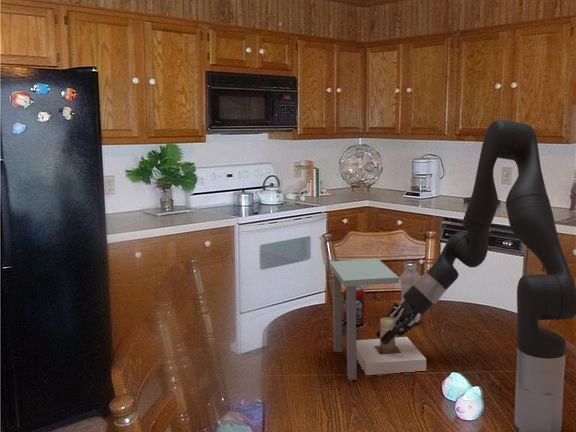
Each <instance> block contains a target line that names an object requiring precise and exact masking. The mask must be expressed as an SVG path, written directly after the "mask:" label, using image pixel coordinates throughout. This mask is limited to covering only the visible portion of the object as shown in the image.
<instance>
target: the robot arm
mask: <svg viewBox="0 0 576 432" xmlns="http://www.w3.org/2000/svg"><path fill="white" fill-rule="evenodd" d="M537 138H538V137H537V134H536V131H535V130H534V128H533V127H532V126H531V125H530V124H527V123H523V122H517V121H513V120H512V121H511V120H507V119H506V120H505V119H495V120H493V121H492V122H491V123H490V124H489V126H488V127H487V129H486V131H485V133H484V137H483V141H482V145H481V149H480V154H479V158H478V159H479V160H478V165H477V169H476V174H475V175H476V176H475V180H474V185H473V189H472V192H471V193H472V194H471V197H470V200H469V202H468V206H467V207H466V211H465V214H464V216H463V219H462V226H463V227H464V229H465V230H466V231H458V232H456V233H454V234H453V235H451V236H450V237H449V238H448V240H447V241H446V243H445V245H444V247H443V248H442V250H441V252H440V254H439V256H438V258H437V260H436V262H435V263H434V264H432V266H430V267H429V268H428V269H427V271H426V272H425V273H424V274H423V275H420V278H419V279H418V280H417V281H416V282H415V283H414V284H413V285H412V286H411V287H410V288H409V290H408V291H407V292H406V293H405V294H404V295H403V298H404V299H405V301H404V302H403V303H402V304H401V303H400V304H399V303H397V302H395V303H394V304H393V305H392V306H391V308H390V310H389V311H388V312H387V314H386V315H385V317H391V318H394V319H395V320H394V324H393V325H392V327H391V328H390V330H388V331H387V332H386V333H385V334H384V335H383V336H382V337H381V338H380V328H379V329H378V330H377V331H376V332H375V335H376V336H377V337H378V339H380V340H381V342H382V343H383V344H385V345H387V344H388V343H389V342H390V341H391V340H392V338H393V337H394V336H395V337H396V336H397V337H403V336H404V335H405V334H406V333H408V332H409V331H410V330H412V329H413V328H415V327H416V326H417V324H418V322H417V323H416V322H415V321H414V319H415V318H416V316H417V314H418V313H420V316H424V315H425V314H427V312H428V311H429V310H430V309H431V308H433V306H434V305H435V304H436V303H437V302H438V301H439V300H440V299H441V297H442V296H443V295H444V293H446V291H447V290H448V289H449V288H450V287H451V286H452V285H453V283H455V282H456V281H457V280H458V278H459V275H460V274H459V272H458V270H457V268H455V266H454V265H455V264H454V263H455V260H456V259H457V260H458V261H460V263H462V264H464V265H465V266H466V267H468V268H476V267H478V266H480V265H481V264H483V262H484V261H485V259H486V257H487V255H488V249H489V239H490V228H491V226H492V223H493V220H494V218H495V215H496V213H497V209H498V204H499V198H498V197H499V196H498V192H497V188H496V184H495V178H494V169H495V165H496V162H497V160H498V159H503V160H510V161H514V163H515V164H516V167H517V174H518V175H517V178H516V180H515V182H514V183H513V185H512V186H511V188H510V190H509V191H508V194H507V196H506V200H505V209H506V213H507V219H508V223H509V227H510V229H511V231H512V233H513V234H514V236H515V237H516V238H517V239H518V240H519V241H520V242H521V243H522V244H523V245H524V246H526V248H528V249H529V251H530V252H532V254H534V255H535V257H536V258H537V259H538V260H539V262H540V263H541V265H542V266H543V268H544V270H545V273H546V274H524V275H522V276H521V277H520V278H519V280H518V283H517V286H516V287H517V288H516V309H517V310H516V312H517V313H516V314H517V315H516V317H517V320H516V321H517V323H516V324H517V325H516V332H517V333H516V335H517V346H516V347H517V351H516V352H517V353H516V374H515V375H516V376H515V397H514V398H515V400H514V422H513V423H514V425H515V427H516V428H517V429H518V432H562V425H563V424H562V422H563V403H564V386H565V385H564V384H565V370H566V369H565V368H566V352H567V350H566V349H567V345H566V344H567V343H566V340H565V338H564V337H563V336H562V335H560V334H558V333H556V332H554V331H551V330H549V329H545V328H543V327H540V326H539V321H545V320H546V321H547V320H548V321H549V320H550V321H551V320H552V321H555V320H557V321H560V320H563V321H564V320H571V319H573V318H575V317H576V285H575V282H574V279H573V276H572V273H571V270H570V268H569V265H568V262H567V260H566V257H565V253H564V252H563V248H562V246H561V243H560V239H559V235H558V231H557V227H556V222H555V217H554V213H553V210H552V206H551V201H550V199H549V196H548V192H547V188H546V184H545V181H544V177H543V171H542V167H541V161H540V159H541V158H540V151H539V145H538V139H537Z"/></svg>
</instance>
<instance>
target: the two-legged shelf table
mask: <svg viewBox="0 0 576 432" xmlns="http://www.w3.org/2000/svg"><path fill="white" fill-rule="evenodd" d="M328 267H329V268H330V270H331V271H332V303H333V304H332V312H333V313H332V315H333V316H332V318H333V319H332V321H333V325H332V327H333V352H334V351H335V352H342V353H343V320H342V319H343V318H342V317H343V313H342V312H343V311H342V309H343V308H342V307H343V306H342V305H343V304H342V286H343V287H345V289H346V309H347V323H346V370H347V371H346V377H347V376H348V378H347V380H348V379H358V378H357V370H358V369H357V363H358V361H357V359H356V340H357V326H356V286H373V285H375V286H377V285H389V284H390V285H392V284H400V276H398V274H396V273H395V272H394V271H393V270H392V269H390V267H388V266H387V265H386V264H384V262H383V261H381V260H380V259H379V258H367V259H349V260H330V261H328ZM335 352H334V353H335Z"/></svg>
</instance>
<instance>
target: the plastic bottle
mask: <svg viewBox="0 0 576 432" xmlns="http://www.w3.org/2000/svg"><path fill="white" fill-rule="evenodd" d="M417 269H418V267H417V262H416V261H412V260H411V261H404V270H403V272H402V273H401V275H400V277H399V284H400V289H401V290H400V291H401V303H400V304H402V303H403V302H404V301H405V299H404V298H403V295H404V294H405V293H406V292H407V291H408V290H409V288H410V287H411V286H412V285H413V284H414V283H415V282H416V281H417V280H418V279H419V278H420V277H421V275H420V273H419V272H418V271H417ZM420 319H421V314H420V313H418V314H417V316H416V318H415V319H414V321H415V322H416V323H417V324H418V323H419V321H420Z"/></svg>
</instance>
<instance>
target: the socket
mask: <svg viewBox="0 0 576 432" xmlns="http://www.w3.org/2000/svg"><path fill="white" fill-rule="evenodd" d="M356 358H357V359H356V361H357V360H358V361H357V363H358V362H359V363H360V365H361V366H360V365H359V366H360V368H361V367H362V368H361V370H362V369H363V370H364V372H365V373H364V372H363V373H364V375H365V374H366V375H371V374H372V375H373V374H388V373H400V372H415V371H426V372H427V358H426V357H425V356H424V355H423V354H422V353H421V351H420V350H419V349H418V348H417V347H416V346H415V344H414V343H413V342H412V341H411V340H410V339H409V337H408V336H401V337H400V336H397V337H395V354H381V353H380V338H371V339H369V338H368V339H356ZM359 363H358V364H359ZM363 370H362V371H363ZM366 375H365V376H366Z"/></svg>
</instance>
